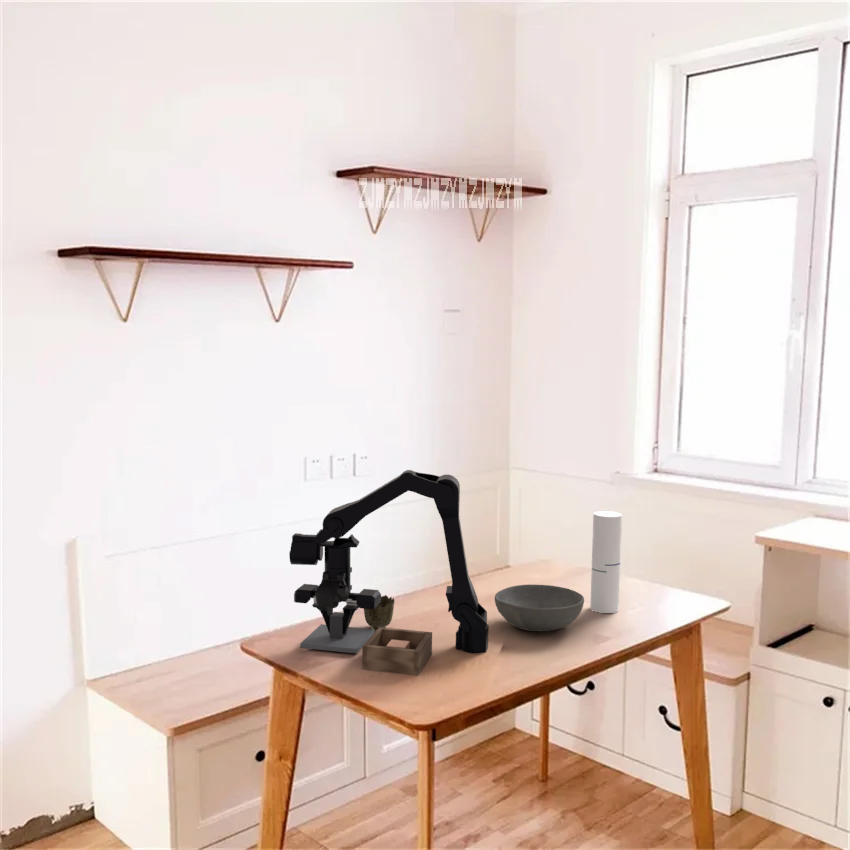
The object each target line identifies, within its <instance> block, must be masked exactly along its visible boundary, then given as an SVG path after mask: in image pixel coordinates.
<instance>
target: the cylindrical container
mask: <svg viewBox="0 0 850 850" xmlns="http://www.w3.org/2000/svg"><path fill="white" fill-rule="evenodd" d="M592 514H593V516H592V519H593V521H592V543H591V544H592V545H591V546H592V549H591V550H592V551H591V572H590V573H591V574H590V576H591V577H590V578H591V579H590V605H589V609H590V610H591V611H592V610H593V611H592V612H594V611H595V612H594V613H597V612H599V613H598V614H601V613H613V614H617V613H618V612H619V611H618V610H619V605H620V584H621V583H620V582H621V581H620V580H621V559H622V558H621V557H622V555H621V554H622V553H621V552H622V530H623V529H622V527H623V514H622V513H621V512H617V511H609V510H600V511H599V510H598V511H595V512H593V513H592ZM616 612H617V613H616Z"/></svg>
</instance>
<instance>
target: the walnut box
mask: <svg viewBox="0 0 850 850" xmlns="http://www.w3.org/2000/svg"><path fill="white" fill-rule="evenodd" d="M391 640H402V641H410V649H404V648H394V647H386V646H387V645H388V643H389V642H390V641H391ZM361 650H362V651H361V653H362V655H361V656H362V657H361V658H362V659H361V666H362V669H361V670H363V671H372V672H381V673H388V674H389V673H391V674H399V675H409V676H416V677H417V676H418V677H419V676H420V675H421V672H422V671H423V669H424V668H425V666H426V665H427V663H428V662H429V660H430V658H431V657H432V655H433V632H432V631H424V630H412V629H403V628H401V629H400V628H390V627H386V628H383V627H379V628H378V629H377V630H376V631H375V632H374V633H373V635H372V636H371V637H370V638H369V639H368V640H367V641H366V643H365V644H364V645H363V646H362V648H361Z"/></svg>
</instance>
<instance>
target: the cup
mask: <svg viewBox="0 0 850 850" xmlns="http://www.w3.org/2000/svg"><path fill="white" fill-rule="evenodd" d="M394 607H395V598H393V597H392V596H391V597H389V596H388V595H387V594H385V595H381V602H380V603H379V604H378V605H377V606H376V607H375V608H374V609H364V608H363V614H364V618H365V622H366V624H367V625H368V626H370V629H375V631H376V630H377V629H378V628H379V627H383V628H387V627H388V626H389V625H390V624H391V622H392V620H393V615H394Z"/></svg>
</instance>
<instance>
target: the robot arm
mask: <svg viewBox="0 0 850 850" xmlns="http://www.w3.org/2000/svg"><path fill="white" fill-rule="evenodd" d="M460 486H461V485H460V482H459V480H458V479H457V478H456V477H455V476H454V475H451V474H442V475H440V476H439V475H435V474H431V473H423V472H418V471H415V470H412V469H406V470H404V471H402V472H401V474H400V475H398V476H396V477H395V478H393V479H391V480H390V481H388V482H386V483H384V484H383V485H381V486H380V487H379V486H378V488H376V489H375V490H373V491H371V492H370V493H368V494H366V495H365V496H363V497H361V498H360V499H357V500H354V501H352V502H347V503H345V504H341V505H340V506H338V507H334V508H332V509H331V510H330V511H329V512H328V513H327V515H326V516H325V517H324V519H323V521H322V529H319V531H318V532H317V533H316V534H303V533H297V532H296V533H293V535H291V539H292V540H291V542H290V543H291V545H290V551H289V556H288V557H289V562H290V564H291V565H300V566H303V565H304V566H305V565H306V566H317V565H318V564H319V563H318V562H319V561H320V562H321V561H323V556H324V570H323V572H322V579H321V582H320V584H319V585H318V584H311V583H310V584H309V583H308V584H307V583H303V584H302V585H301V586H299V587H297V588H296V590H295V591H294V594H293V601H294V603H296V604H307V603H308V602H309V601H310V600H312V599H313V604H312V605H311V606H312V607H313V608H316V609H317V610H318V611H319V612H320V614H321V616H322V618H323V620H324V623H325V625H326V626H327V629H328V631H329V633H330V615H331V614H332V613H334V609H336V608H337V607H338V606H339V604H340V603H341V602H343V603H345V604H346V605H344V607H342V613H344V619H343V635H345V634H346V632H347V630H348V627H350V624H351V622H352V618H353V617H354V614H355V612H356V611H357V610H358V609H363V610H364V609H374V608H375V607H376V606H377V605H378V604H379V603H380V602H381V596H382V593H381V592H380V591H379V589H372V588H370V589H369V588H363V589H362V590H361V591H360V592H352V589H353V585H352V584H351V573H352V572H353V567H352V566H351V548H357V547H359V545H360V540H358V539H357V538H356V537H355V536H354V534H353V533H352V534H350V535H349V536H348V537H344V536H345V535H347V533H349V532H350V531H351V530H352V529H353V528H355V526H356V525H358V524H359V523H360V522H361V521H362V520H363V519H364V518H365V517H367V516H368V515H370V514H372V513H373V512H375V511H377V510H379V509H380V508H382V507H383V506H385V505H387V504H388V503H390V502H392V501H393V500H396V499H397V498H398V497H400V496H401V495H403V494H405V493H407V492H412V493H416V494H417V495H420V496H423V497H427V498H431V499H433V501H434V503H435V506H436V510H437V512H438V515H439V516H440V518H441V521H442V527H443V532H444V533H443V534H444V539H445V540H444V541H445V544H446V552H447V558H448V562H449V563H448V564H449V570H450V576H451V577H450V578H451V581H452V582H451V585H447V586H446V591H445V596H446V601H447V602H448V609H447V610H448V611H447V612H448V613H449V612H451V615H452V618H453V619H454V620H456V621H457V622H458V623H459V625H458V629H457V630H456V632H455V650H458V651H462V652H464V653H466V654H467V653H468V654H482V653H484V654H486V653H487V651H488V649H489V628H490V627H489V624H488V611H487V610H486V609H485V608H484V607H483V606H482V605H481V604H480V603H479V599H478V596H477V592H476V590H475V587H474V584H473V583H472V580H471V578H470V574H469V570H468V564H467V557H466V556H467V555H466V551H465V546H464V545H465V544H464V538H463V532H462V526H461V519H460V503H461V501H460V498H461V494H460V492H461V489H460V488H461V487H460ZM332 538H333V539H334V540H330V539H332Z"/></svg>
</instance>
